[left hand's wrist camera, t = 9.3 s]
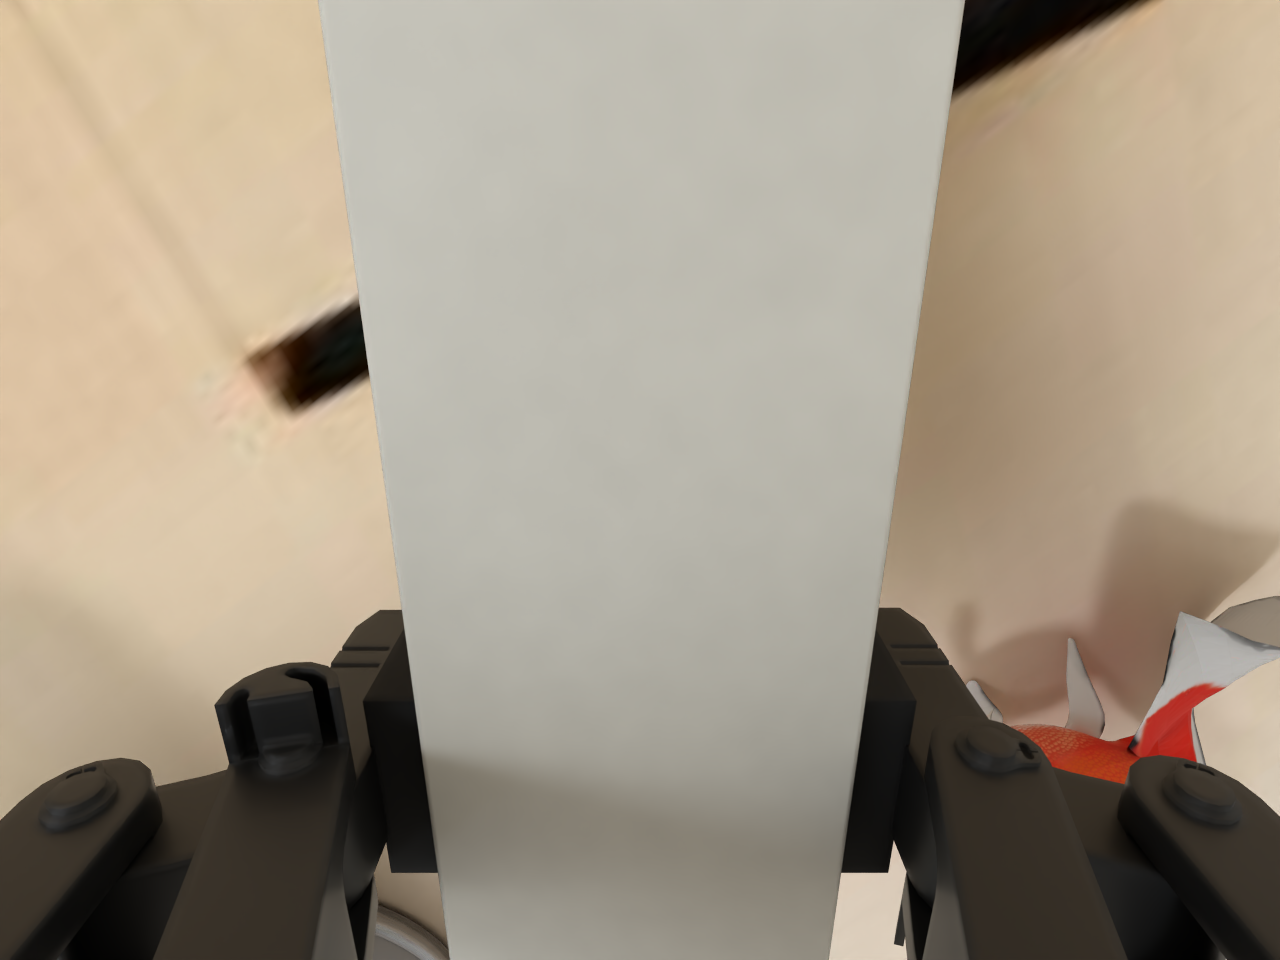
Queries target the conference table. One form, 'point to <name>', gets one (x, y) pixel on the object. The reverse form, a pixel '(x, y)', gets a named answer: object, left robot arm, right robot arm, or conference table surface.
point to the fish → (1192, 674)
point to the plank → (640, 438)
